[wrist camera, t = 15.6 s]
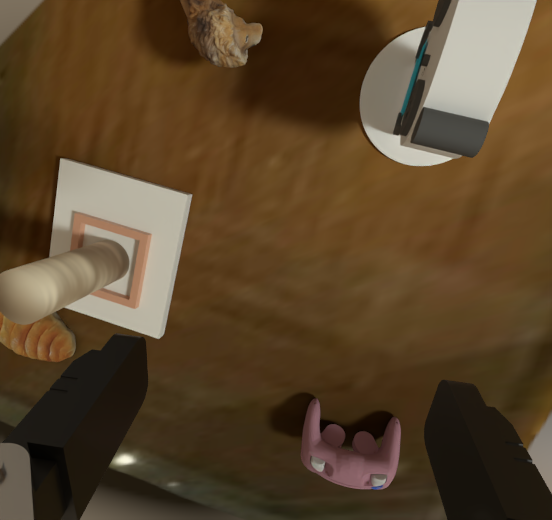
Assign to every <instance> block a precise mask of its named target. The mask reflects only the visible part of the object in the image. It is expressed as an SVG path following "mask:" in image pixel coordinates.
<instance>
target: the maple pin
mask: <svg viewBox="0 0 552 520" xmlns="http://www.w3.org/2000/svg"><path fill="white" fill-rule="evenodd" d="M128 270H129V257H128V254H127V252H126V250H125V249H124V248H123V247H122V246H121V245H120V244H119V243H117V242H115V241H112V240H103V241H100V242H97V243H94V244H90V245H87V246H84V247H81V248H78V249H74V250H71V251H68V252H65V253H62V254H59V255H55V256H52V257H49V258H46V259H43V260H39V261H36V262H33V263H30V264H27V265H23V266H20V267H17V268H14V269H11V270H7V271H4V272H2V273H1V274H0V312H1V313H2V314H3V315H4V316H5V317H6V318H8V319H9V320H10V321H12V322H14V323H17V324H22V325H27V324H31V323H34V322H36V321H38V320H40V319H42V318H44V317H46V316H48V315H50V314H52V313H53V312H55V311H57V310H59V309H61V308H63V307H65V306H67V305H69V304H71V303H73V302H75V301H77V300H79V299H81V298H83V297H85V296H87V295H89V294H91V293H93V292H95V291H97V290H99V289H101V288H103V287H105V286H107V285H109V284H111V283H113V282H115V281H117V280H119V279H121V278H123V277H124V276H125V275H126V274H127V272H128Z"/></svg>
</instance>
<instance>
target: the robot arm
mask: <svg viewBox="0 0 552 520" xmlns="http://www.w3.org/2000/svg"><path fill="white" fill-rule="evenodd" d="M147 387H148V370H147V353H146V341H145V339H144V337H139V336H131V335H124V334H114V335H113V336H112V337H111V338H110V340H109V341H108V342H107V343H106V345H105V346H104V347H103V348H102V350H101V351H99V350H91V351H89V352H87V353H86V354H84V355H82V356H81V357H79V358H78V359H76V360H74V361H73V362H72V363H71V365H70V366H69V367H68V368H67V369H66V370H65V371H64V373H63V374H62V375H61V378H60V379H58V380H57V381H56V382H55V383H54V384H53V385H52V386H51V388H50V391H49V392H48V391H47V392H46V393H45V394H44V396H43V397H42V398H41V399H40V400H39V401H38V402H37V404H36V405H35V406H34V407H33V408H32V409H31V410H30V412H29V413H28V414H27V415H26V416H25V417H24V419H23V420H22V421H21V422H20V423H19V424H18V425H17V427H16V428H15V429H14V430H13V431H12V432H11V434H10V435H9V436H8V437H7V438H6V439H5V440H4V441H3V442H2V443H0V520H80V518H81V516H82V514H83V512H84V511H85V509H86V507H87V505H88V503H89V501H90V499H91V498H92V496H93V494H94V492H95V490H96V488H97V486H98V485H99V483H100V481H101V479H102V477H103V476H104V474H105V472H106V470H107V468H108V466H109V464H110V463H111V461H112V459H113V457H114V455H115V453H116V452H117V450H118V448H119V446H120V444H121V442H122V440H123V439H124V437H125V435H126V433H127V431H128V429H129V428H130V426H131V424H132V422H133V420H134V418H135V417H136V415H137V413H138V411H139V409H140V407H141V405H142V403H143V401H144V399H145V396H146V392H147ZM424 439H425V445H426V449H427V453H428V456H429V459H430V463H431V466H432V469H433V473H434V476H435V479H436V483H437V486H438V489H439V493H440V496H441V499H442V503H443V506H444V509H445V513H446V516H447V519H448V520H552V494H551V492H550V490H549V489H548V487H547V485H546V483H545V481H544V480H543V478H542V476H541V474H540V473H539V471H538V469H537V467H536V466H535V464H532V459H531V457H530V455H529V453H528V452H527V450H526V448H523V443H522V441H521V439H520V438H519V436H518V434H517V432H516V431H515V429H514V427H513V425H512V424H511V423H510V422H509V421H508V420H507V419H506V418H505V417H504V416H503V415H502V414H501V413H500V412H499V411H498V410H497V409H496V408H495V407H488V406H486V404H485V402H484V401H483V399H482V397H481V395H480V393H479V391H478V389H477V387H476V386H475V385H474V384H470V383H463V382H456V381H449V380H442V381H441V382H440V383H439V385H438V388H437V391H436V394H435V396H434V399H433V402H432V405H431V408H430V411H429V413H428V416H427V419H426V422H425V428H424Z"/></svg>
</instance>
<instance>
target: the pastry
mask: <svg viewBox="0 0 552 520" xmlns="http://www.w3.org/2000/svg"><path fill="white" fill-rule="evenodd" d="M0 342H2V343H3V344H4V345H5V346H6V347H7V348H9V349H11V350H13V351H14V352H15V353H17V354H19V355H23V356H26V357H29V358H33V359H39V360H46V361H53V362H60V361H62V360H64V359H66V358H68V357H71V356H72V355H73V354H74V352H75V349H76V341H75V335H74V334H73V332H72V331H71V330H70V329H69V328H68V327H67V326H66V325H65V324H64V322H63V321H62V320H61V319H60V317H59V315H58V314H57V313H56V312H53V313H52V314H50V315H48V316H46V317H44V318H42V319H40V320H38V321H36V322H34V323H31V324H27V325H22V324H17V323H14V322H12V321H10V320H9V319H8V318H6V317H5V316H4V315H3V314H2V313H1V312H0Z"/></svg>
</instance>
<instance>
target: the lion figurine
mask: <svg viewBox="0 0 552 520" xmlns="http://www.w3.org/2000/svg"><path fill="white" fill-rule="evenodd" d="M180 2H181V4H182V7H183V9H184V12H185V14H186V16H187V18H188V19H187V23H188V34H189V37H190V40H191V43H192V44H193V46H194V47H195V48H196V49H197V50H198V51H199V54H200V55H201V56H202V57H204V58H205V59H206V60H207V61H210V63H211V64H213V65H217V66H218V67H222V66H224V67H231V68H233V67H238V66H243V65H245V64H246V62H247V58H248V55H247V52H248V50H247V49H248V48H250V47H252V46H254V45H256V44H257V43H259V42H260V40H261V35H262V31H263V28H262V25H261V24H260V23H250V24H247V23H245V21H244V20H243V19H242V18H240V17H237V16H236V15H235V14H234V11H233V10H232V9H230V8H228V7H227V5H226V4H224V3H223V2H221V1H220V0H180Z"/></svg>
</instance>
